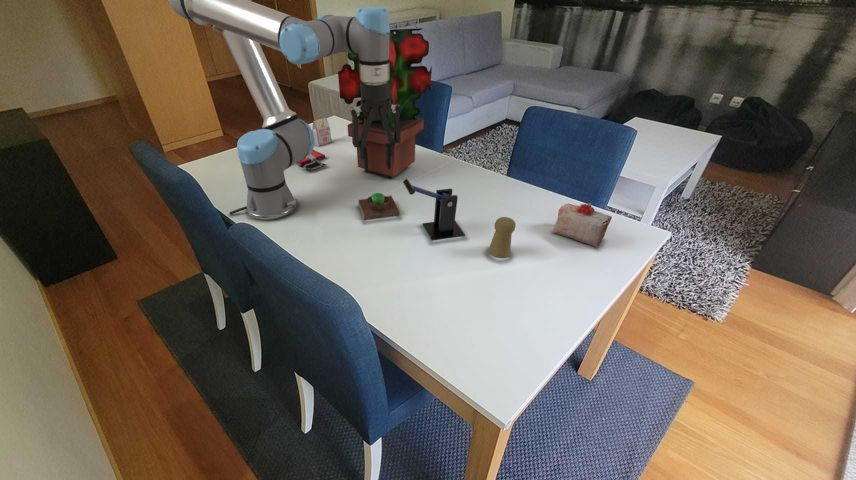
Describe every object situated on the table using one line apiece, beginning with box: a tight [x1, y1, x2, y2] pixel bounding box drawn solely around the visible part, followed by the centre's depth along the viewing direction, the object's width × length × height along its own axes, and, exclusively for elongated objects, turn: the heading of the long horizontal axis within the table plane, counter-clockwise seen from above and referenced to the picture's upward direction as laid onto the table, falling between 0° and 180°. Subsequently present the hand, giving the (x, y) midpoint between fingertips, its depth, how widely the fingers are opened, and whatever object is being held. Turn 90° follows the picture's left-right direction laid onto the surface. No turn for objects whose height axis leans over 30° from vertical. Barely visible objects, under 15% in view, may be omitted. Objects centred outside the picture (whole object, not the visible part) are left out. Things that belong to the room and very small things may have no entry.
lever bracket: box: [422, 188, 466, 242], centre depth 109 cm, size 10×9×13 cm
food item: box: [553, 202, 613, 248], centre depth 108 cm, size 14×8×10 cm, turn 51°
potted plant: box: [337, 27, 433, 179], centre depth 132 cm, size 22×22×45 cm
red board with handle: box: [296, 149, 327, 172], centre depth 155 cm, size 30×3×15 cm
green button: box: [371, 192, 385, 204], centre depth 119 cm, size 4×4×2 cm
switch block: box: [357, 194, 400, 221], centre depth 121 cm, size 11×10×4 cm
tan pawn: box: [487, 216, 517, 259], centre depth 101 cm, size 6×6×11 cm
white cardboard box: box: [311, 117, 333, 147], centre depth 164 cm, size 4×7×10 cm, turn 131°
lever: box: [402, 178, 451, 202], centre depth 103 cm, size 14×6×2 cm, turn 104°
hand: (377, 168), depth 112 cm, fingers open, 6 cm apart
